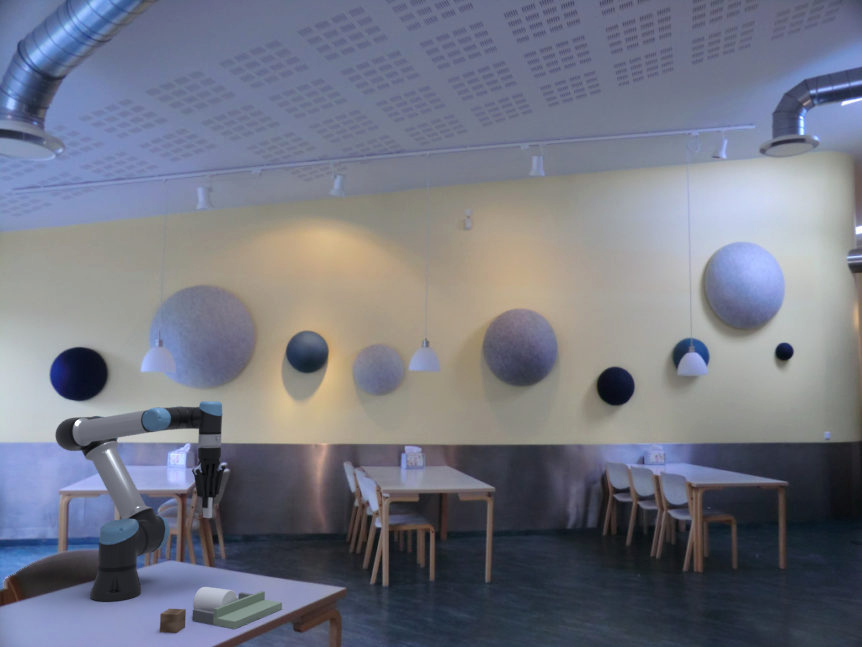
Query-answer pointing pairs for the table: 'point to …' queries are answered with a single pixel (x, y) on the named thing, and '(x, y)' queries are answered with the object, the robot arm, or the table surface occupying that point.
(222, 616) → the green holder tray
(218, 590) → the mug
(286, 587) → the table surface
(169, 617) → the walnut block
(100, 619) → the table surface
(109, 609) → the table surface
